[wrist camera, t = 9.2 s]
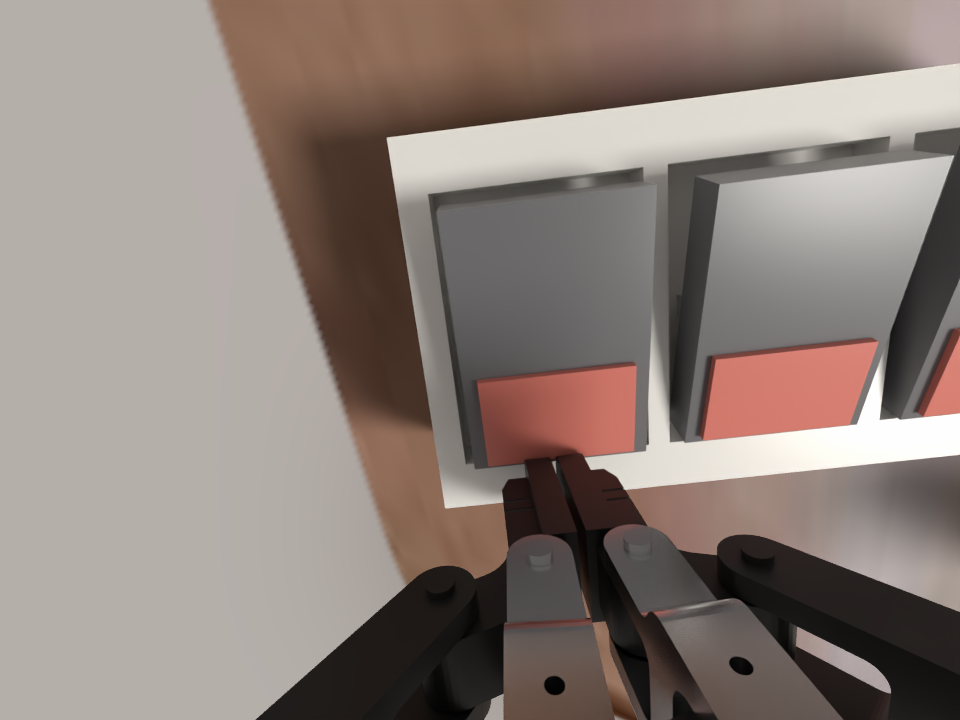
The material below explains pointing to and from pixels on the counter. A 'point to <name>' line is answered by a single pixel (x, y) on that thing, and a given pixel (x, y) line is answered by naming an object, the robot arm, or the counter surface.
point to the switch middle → (795, 290)
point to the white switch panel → (666, 249)
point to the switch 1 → (553, 320)
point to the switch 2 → (929, 321)
